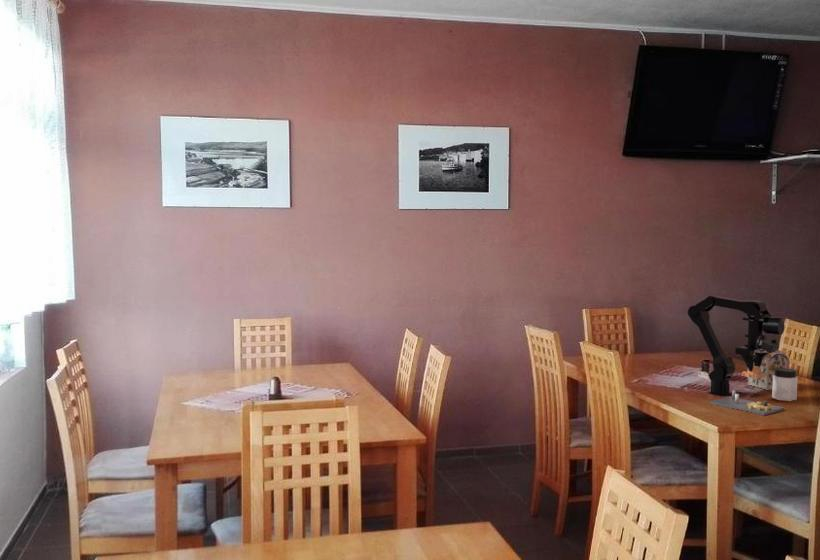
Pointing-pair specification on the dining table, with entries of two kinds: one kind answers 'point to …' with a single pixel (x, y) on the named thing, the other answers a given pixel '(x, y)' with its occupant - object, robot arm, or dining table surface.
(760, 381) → the decorative jar
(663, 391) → the dining table surface
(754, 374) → the loose gear
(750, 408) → the gear board
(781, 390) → the jar
